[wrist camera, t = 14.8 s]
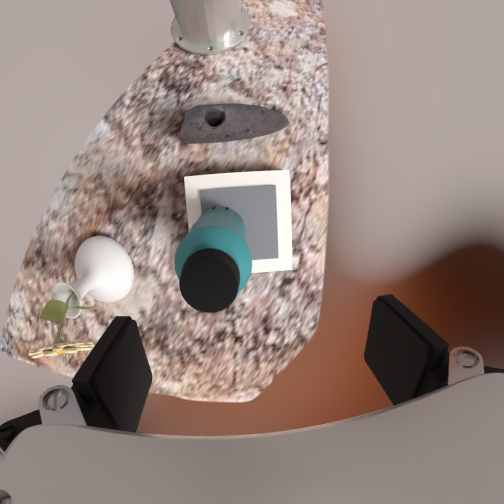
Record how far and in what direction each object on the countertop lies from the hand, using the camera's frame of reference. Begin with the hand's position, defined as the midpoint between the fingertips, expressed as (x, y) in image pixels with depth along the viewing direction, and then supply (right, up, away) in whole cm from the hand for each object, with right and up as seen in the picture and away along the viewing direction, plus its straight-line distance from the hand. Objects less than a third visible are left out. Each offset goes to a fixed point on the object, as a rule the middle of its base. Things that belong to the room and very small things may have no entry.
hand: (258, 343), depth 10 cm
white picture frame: (-2, +8, +31) cm, 32 cm away
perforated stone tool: (-3, +22, +27) cm, 35 cm away
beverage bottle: (-4, +7, +26) cm, 28 cm away
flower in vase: (-24, +1, +31) cm, 39 cm away
